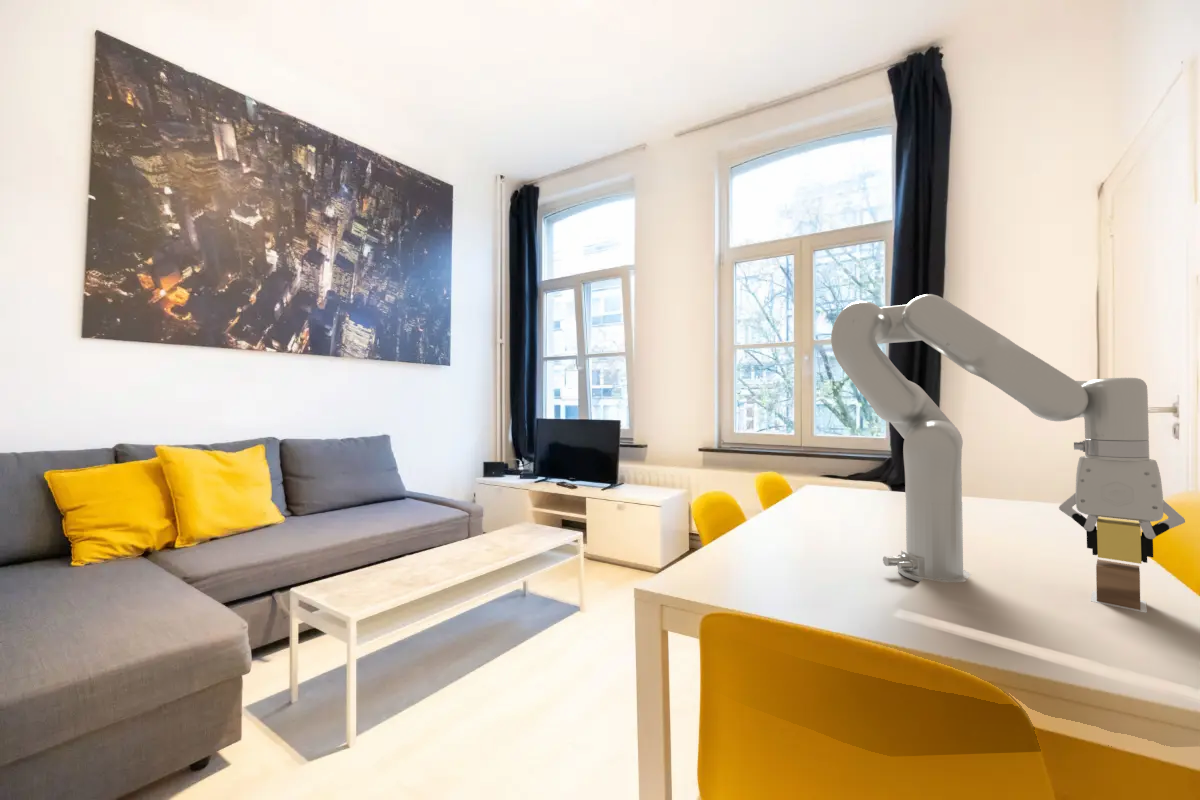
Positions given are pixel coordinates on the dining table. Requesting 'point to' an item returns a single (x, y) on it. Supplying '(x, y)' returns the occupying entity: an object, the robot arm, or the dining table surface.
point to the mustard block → (1119, 539)
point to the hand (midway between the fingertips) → (1119, 555)
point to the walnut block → (1118, 584)
